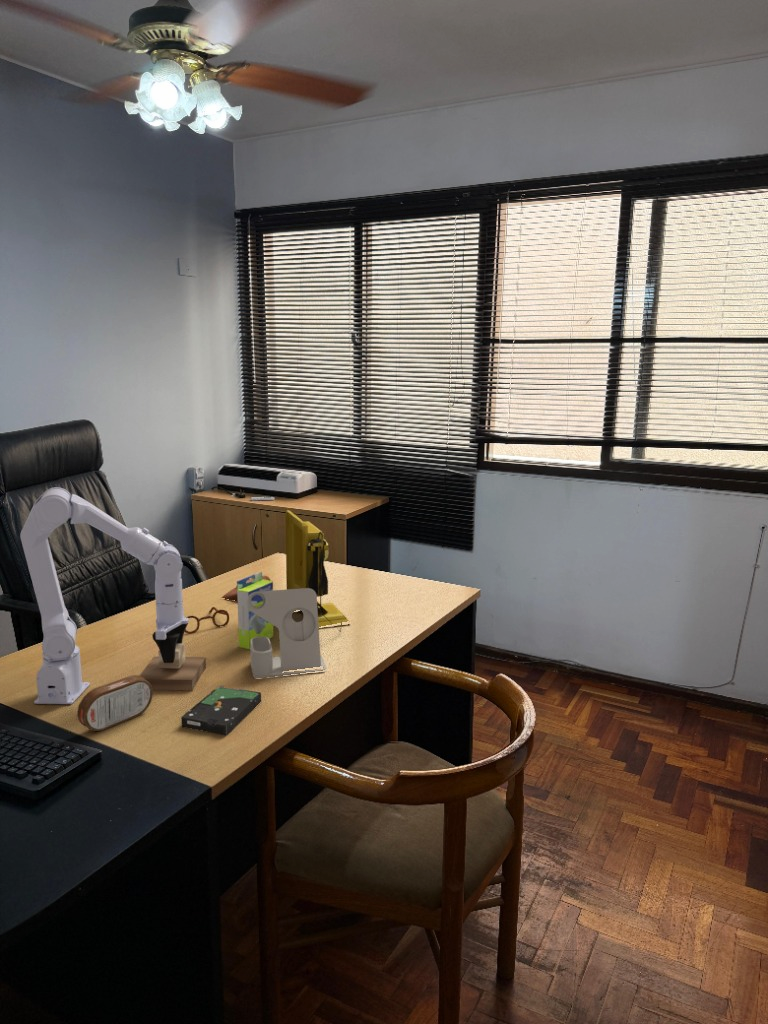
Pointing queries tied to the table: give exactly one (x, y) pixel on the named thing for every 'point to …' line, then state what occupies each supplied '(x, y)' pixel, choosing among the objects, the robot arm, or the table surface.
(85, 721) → the tin
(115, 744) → the table surface
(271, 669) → the phone holder
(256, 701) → the disk drive
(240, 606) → the box
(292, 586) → the yellow computer monitor
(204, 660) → the plinth
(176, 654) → the block
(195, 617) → the glasses
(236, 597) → the sunglasses case
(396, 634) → the table surface
